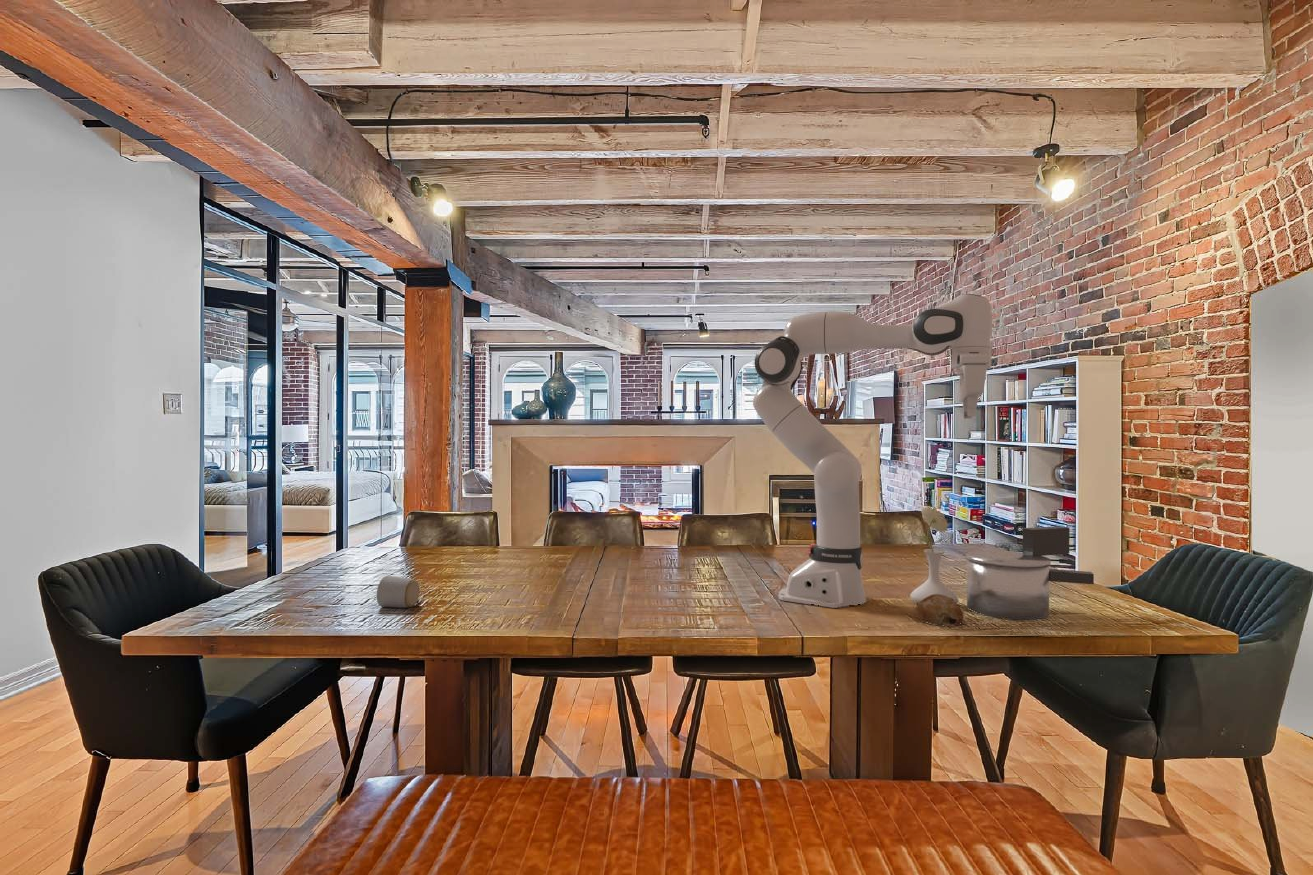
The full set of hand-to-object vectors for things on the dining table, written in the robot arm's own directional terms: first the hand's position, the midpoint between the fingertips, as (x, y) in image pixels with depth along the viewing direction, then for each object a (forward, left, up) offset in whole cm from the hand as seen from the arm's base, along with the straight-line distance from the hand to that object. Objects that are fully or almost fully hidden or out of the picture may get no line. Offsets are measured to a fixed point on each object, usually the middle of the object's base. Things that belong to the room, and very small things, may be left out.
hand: (969, 417), depth 164 cm
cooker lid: (+12, +8, -35) cm, 38 cm away
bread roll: (-7, -11, -48) cm, 50 cm away
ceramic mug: (-133, -48, -48) cm, 149 cm away
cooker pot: (+13, +5, -48) cm, 50 cm away
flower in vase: (-8, +5, -48) cm, 49 cm away
